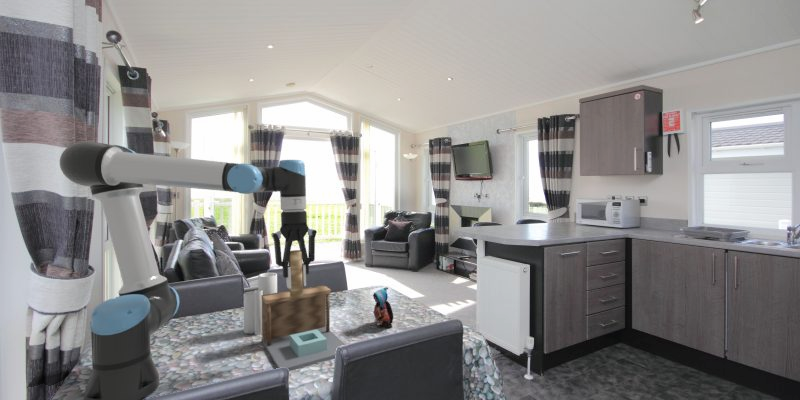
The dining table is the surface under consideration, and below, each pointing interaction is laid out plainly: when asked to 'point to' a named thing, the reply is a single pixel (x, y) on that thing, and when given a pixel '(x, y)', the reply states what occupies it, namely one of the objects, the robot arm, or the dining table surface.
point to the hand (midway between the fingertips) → (296, 286)
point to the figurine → (382, 309)
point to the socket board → (291, 357)
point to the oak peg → (296, 274)
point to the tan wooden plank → (295, 312)
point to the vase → (257, 302)
